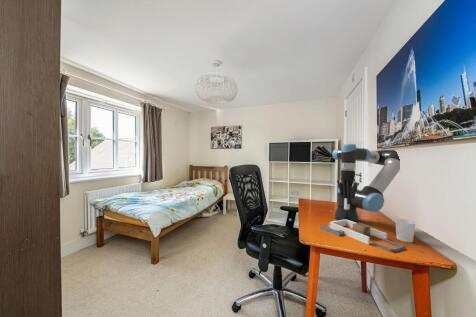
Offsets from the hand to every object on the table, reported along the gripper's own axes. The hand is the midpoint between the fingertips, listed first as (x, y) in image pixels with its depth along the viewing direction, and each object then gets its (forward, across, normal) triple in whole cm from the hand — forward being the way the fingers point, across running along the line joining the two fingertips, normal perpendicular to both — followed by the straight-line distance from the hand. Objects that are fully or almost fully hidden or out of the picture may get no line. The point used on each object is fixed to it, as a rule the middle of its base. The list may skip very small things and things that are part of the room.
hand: (346, 209), depth 114 cm
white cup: (+13, +21, +17) cm, 30 cm away
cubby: (+13, +6, 0) cm, 14 cm away
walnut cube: (+13, +9, 0) cm, 15 cm away
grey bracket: (+13, +22, 0) cm, 26 cm away
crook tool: (+13, -1, -11) cm, 17 cm away
